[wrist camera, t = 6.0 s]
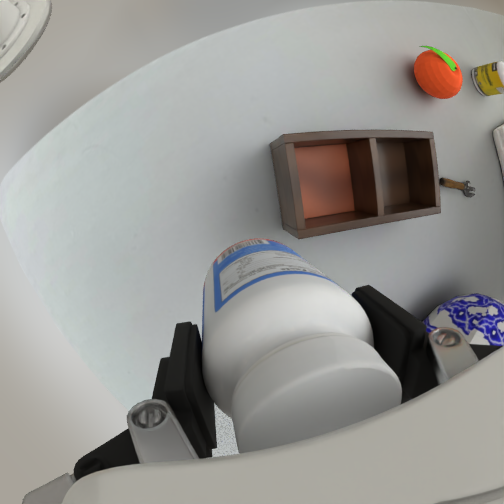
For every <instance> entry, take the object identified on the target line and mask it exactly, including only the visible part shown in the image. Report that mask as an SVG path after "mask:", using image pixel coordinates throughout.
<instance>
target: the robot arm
mask: <svg viewBox="0 0 504 504" xmlns="http://www.w3.org/2000/svg"><path fill="white" fill-rule="evenodd" d="M29 15H30V6H29V4H28V3H27V2H25V1H21V0H20V1H16V2H14V3H11V2H9V1H8V0H0V59H1V58H2V57H3V56H4V55H5V54H6V53H7V51H8V50H9V49H10V48H11V47H12V46H13V44H14V43H15V42H16V40H17V39H18V37H19V36H20V34H21V33H22V31H23V29H24V27H25V26H26V24H27V21H28V19H29ZM352 297H353V298H354V299H355V300H356V301H357V302H358V303H359V304H360V305H361V307H362V308H363V310H364V311H365V313H366V315H367V317H368V319H369V321H370V324H371V327H372V331H373V338H374V349H375V350H376V351H377V352H378V354H379V355H380V357H381V358H382V359H383V360H384V361H385V362H386V364H387V365H388V366H389V367H390V368H391V369H392V370H393V371H394V372H395V374H396V375H397V377H398V379H399V381H400V384H401V387H402V400H401V404H400V405H399V406H397V407H394V408H392V409H390V410H388V411H385V412H383V413H381V414H378V415H376V416H373V417H371V418H368V419H366V420H363V421H361V422H358V423H355V424H353V425H350V426H347V427H344V428H341V429H338V430H335V431H332V432H329V433H326V434H323V435H319V436H316V437H312V438H309V439H305V440H302V441H298V442H294V443H290V444H286V445H282V446H277V447H273V448H268V449H263V450H258V451H252V452H247V453H241V454H234V455H227V456H220V457H213V458H209V457H212V449H215V448H217V441H216V426H215V411H214V401H213V400H212V398H211V397H210V395H209V393H208V391H207V389H206V386H205V383H204V379H203V373H202V341H201V338H200V334H199V330H198V326H197V324H195V325H192V323H191V322H184V323H177V324H176V328H175V333H174V338H173V343H172V348H171V353H170V357H165V358H161V360H160V364H159V368H158V373H157V377H156V382H155V386H154V391H153V396H152V399H149V400H145V401H142V402H140V403H137V404H136V405H135V406H133V407H132V408H131V410H130V411H129V412H128V415H127V423H128V427H129V428H128V429H127V430H125V431H124V432H122V433H120V434H119V435H118V436H116V437H114V438H113V439H111V440H109V441H108V442H106V443H105V444H103V445H101V446H100V447H98V448H97V449H95V450H93V451H91V452H90V453H88V454H86V455H85V456H83V457H82V458H81V459H79V460H78V462H77V463H76V464H75V468H74V473H73V474H72V475H69V474H68V473H65V474H64V475H62V476H60V477H58V478H56V479H54V480H53V481H51V482H49V483H47V484H45V485H43V486H41V487H39V488H37V489H35V490H33V491H31V492H29V493H28V494H26V495H25V497H24V499H23V502H22V504H504V346H503V345H502V346H497V345H480V344H469V343H468V342H467V340H466V339H465V337H464V336H463V334H462V333H461V332H460V331H458V330H456V329H453V328H449V327H440V328H436V329H434V330H432V331H431V332H430V333H428V332H427V331H426V328H427V326H426V325H425V324H424V323H422V322H421V321H420V320H418V319H417V318H415V317H414V316H413V315H411V314H410V313H408V312H407V311H406V310H404V309H403V308H401V307H400V306H399V305H397V304H396V303H394V302H393V301H392V300H390V299H389V298H387V297H386V296H384V295H383V294H382V293H380V292H379V291H377V290H376V289H374V288H373V287H371V286H370V285H366V286H362V287H358V288H356V289H355V292H353V293H352ZM410 399H411V400H410Z"/></svg>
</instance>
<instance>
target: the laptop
mask: <svg viewBox="0 0 504 504" xmlns="http://www.w3.org/2000/svg"><path fill="white" fill-rule="evenodd" d="M493 138H494V141H495V145H496V149H497V153H498V156H499V161H500V165H501V169H502V174H503V179H504V124H503V125H501V126H500V127H498V128H496V129H495V130H494V131H493Z"/></svg>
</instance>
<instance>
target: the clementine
mask: <svg viewBox="0 0 504 504" xmlns="http://www.w3.org/2000/svg"><path fill="white" fill-rule="evenodd" d="M420 47H426V48H429V49H431V50H428V51H425V52H423V53H421V54H420V55H419V56H418V57H417V59H416V61H415V64H414V74H415V78H416V80H417V82H418V84H419V85H420V87H421V88H422V89H423V90H424V91H425V92H427V93H428V94H429V95H431V96H433V97H436V98H440V99H447V98H451V97H453V96H455V95H456V94H457V93H458V92H459V91H460V89H461V86H462V82H463V81H462V73H461V70H460V68H459V66H458V64H457V63H456V62H455V61H454V59H453V58H452V57H450V56H449V55H448V54H446V53H444V52H442V51H440V50H438V49H436V48H433V47H429V46H420Z"/></svg>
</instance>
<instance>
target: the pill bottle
mask: <svg viewBox="0 0 504 504" xmlns="http://www.w3.org/2000/svg"><path fill="white" fill-rule="evenodd" d="M202 373H203V379H204V383H205V386H206V389H207V391H208V393H209V395H210V397H211V398H212V400H213V401H214V403H215V404H216V405H217V406H218V408H219V409H221V410H222V411H223V412H224V413H225V414H226V415H228V416H229V417H231V418H232V421H233V424H234V430H235V436H236V442H237V447H238V450H239V453H240V454H241V453H247V452H252V451H258V450H263V449H268V448H273V447H277V446H282V445H286V444H290V443H294V442H298V441H302V440H305V439H309V438H312V437H316V436H319V435H323V434H326V433H329V432H332V431H335V430H338V429H341V428H344V427H347V426H350V425H353V424H355V423H358V422H361V421H363V420H366V419H368V418H371V417H373V416H376V415H378V414H381V413H383V412H385V411H388V410H390V409H392V408H394V407H397V406H399V405H400V404H401V400H402V387H401V384H400V381H399V379H398V377H397V375H396V374H395V372H394V371H393V370H392V369H391V368H390V367H389V366H388V365H387V364H386V362H385V361H384V360H383V359H382V358H381V357H380V355H379V354H378V352H377V351H376V350H375V349H374V338H373V331H372V327H371V324H370V321H369V319H368V317H367V315H366V313H365V311H364V310H363V308H362V307H361V305H360V304H359V303H358V302H357V301H356V300H355V299H354V298H353V297H352V296H351V295H350V294H348V293H347V292H346V291H345V290H344V289H342V288H341V287H340V286H339V285H338V284H336V283H335V282H334V281H332V280H331V279H330V278H328V277H327V276H326V275H324V274H323V273H322V272H321V271H319V270H318V269H317V268H315V267H314V266H313V265H312V264H310V263H309V262H307V261H306V260H305V259H303V258H302V257H301V256H299V255H298V254H297V253H296V252H294V251H293V250H292V249H290V248H289V247H287V246H285V245H283V244H282V243H279V242H277V241H274V240H269V239H249V240H245V241H241V242H239V243H236V244H234V245H232V246H231V247H229V248H227V249H226V250H225V251H223V252H222V253H221V254H220V255H219V256H218V257H217V258H216V259H215V261H214V262H213V263H212V265H211V267H210V268H209V270H208V273H207V275H206V279H205V283H204V289H203V316H202Z"/></svg>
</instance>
